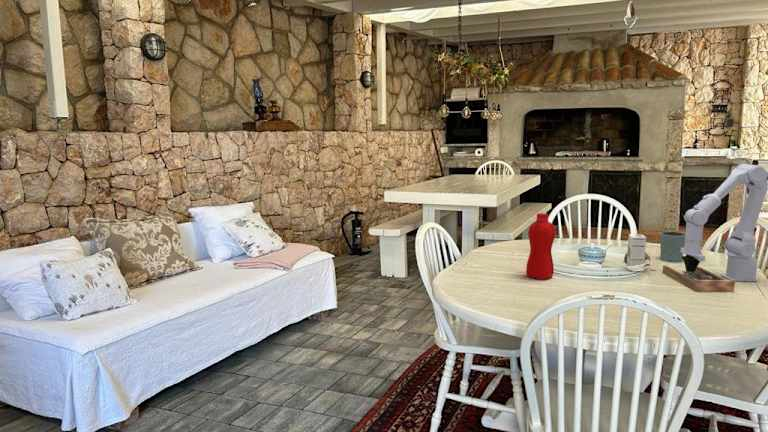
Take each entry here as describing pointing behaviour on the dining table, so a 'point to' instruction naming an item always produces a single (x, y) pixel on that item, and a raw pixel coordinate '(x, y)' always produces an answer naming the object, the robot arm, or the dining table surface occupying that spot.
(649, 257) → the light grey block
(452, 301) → the dining table surface
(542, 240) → the water bottle
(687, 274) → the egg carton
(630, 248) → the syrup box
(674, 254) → the grey cup
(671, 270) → the bay
